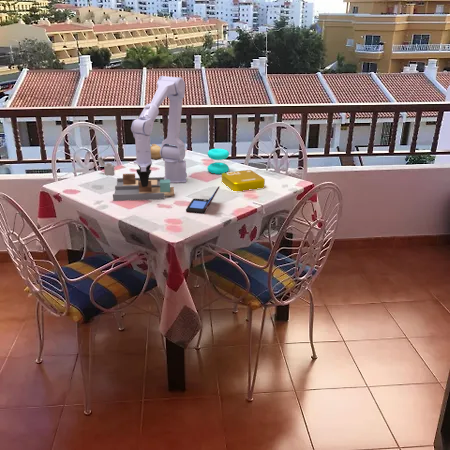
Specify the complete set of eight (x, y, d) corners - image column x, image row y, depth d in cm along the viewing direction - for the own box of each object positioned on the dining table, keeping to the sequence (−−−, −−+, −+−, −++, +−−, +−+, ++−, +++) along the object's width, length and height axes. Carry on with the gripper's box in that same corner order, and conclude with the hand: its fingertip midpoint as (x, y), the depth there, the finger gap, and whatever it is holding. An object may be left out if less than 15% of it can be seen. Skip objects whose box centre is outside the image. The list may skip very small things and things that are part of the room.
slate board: (164, 182, 208) (164, 177, 207) (164, 199, 190) (164, 193, 189) (117, 183, 206) (117, 178, 205) (113, 200, 188) (112, 194, 187)
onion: (165, 156, 245) (164, 142, 242) (160, 160, 238) (160, 146, 235) (150, 155, 246) (149, 141, 243) (145, 159, 239) (144, 145, 236)
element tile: (234, 193, 199) (234, 182, 197) (220, 182, 211) (220, 172, 209) (266, 189, 204) (266, 178, 202) (250, 178, 217) (250, 168, 215)
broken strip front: (138, 182, 205) (137, 171, 203) (137, 188, 198) (136, 177, 196) (124, 182, 205) (123, 171, 203) (122, 188, 198) (122, 177, 196)
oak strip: (173, 188, 198) (173, 177, 196) (174, 195, 192) (173, 184, 190) (139, 189, 197) (139, 178, 195) (138, 196, 190) (138, 184, 188)
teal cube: (170, 188, 196) (169, 179, 195) (170, 192, 193) (170, 182, 191) (160, 188, 196) (160, 179, 194) (160, 192, 192) (159, 182, 191)
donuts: (233, 150, 221) (220, 155, 213) (232, 170, 225) (220, 176, 217) (215, 146, 226) (203, 151, 218) (215, 166, 230) (203, 172, 223)
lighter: (114, 174, 217) (113, 157, 214) (113, 175, 216) (111, 158, 212) (100, 173, 219) (98, 156, 215) (98, 174, 217) (97, 157, 214)
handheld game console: (193, 200, 190) (193, 183, 187) (219, 203, 188) (220, 185, 185) (184, 212, 179) (184, 194, 176) (213, 215, 177) (213, 196, 174)
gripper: (133, 145, 192) (136, 177, 198) (131, 155, 179) (134, 189, 185) (151, 145, 193) (153, 176, 199) (150, 155, 180) (152, 189, 186)
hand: (145, 183), depth 192 cm, fingers open, 7 cm apart
